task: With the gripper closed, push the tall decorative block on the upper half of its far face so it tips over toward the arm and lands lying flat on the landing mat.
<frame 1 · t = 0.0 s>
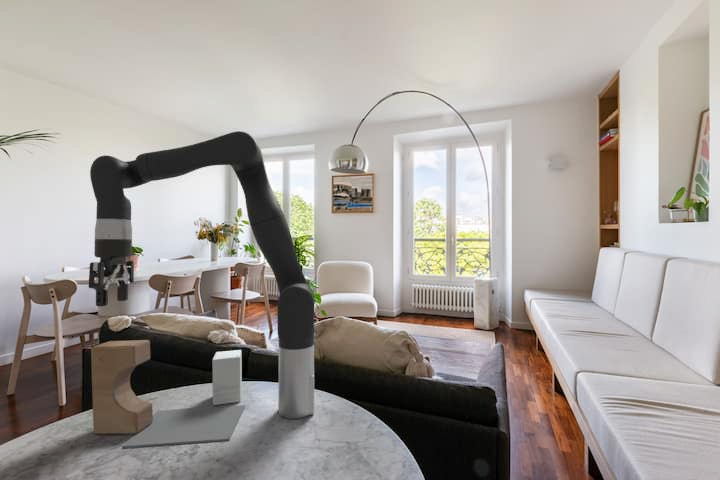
hand: (112, 303, 83), 29 cm above the table, tool pointing down, fingers open, 8 cm apart
landing mat: (190, 425, 81), on the table
supplement box: (227, 399, 95), on the table
decorative block: (124, 429, 79), on the table
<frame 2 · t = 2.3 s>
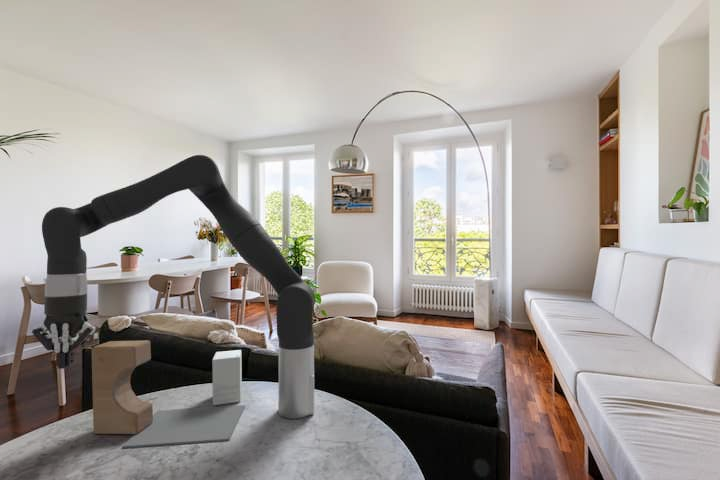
hand: (64, 367, 78), 15 cm above the table, tool pointing down, fingers closed
decorative block: (124, 429, 79), on the table, touching landing mat
everything else where it was.
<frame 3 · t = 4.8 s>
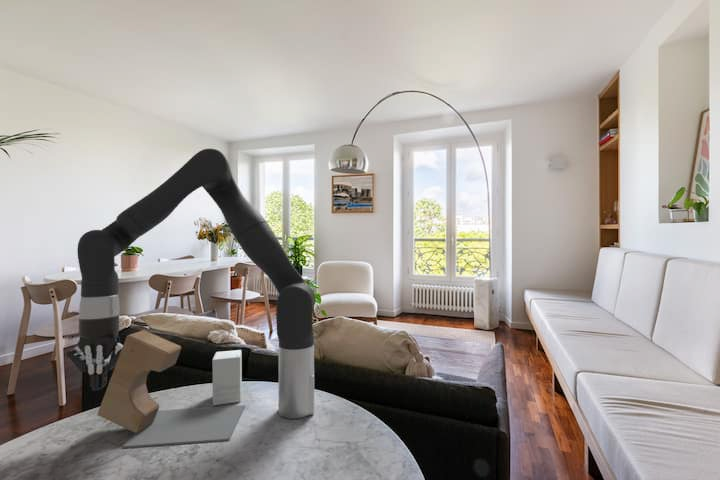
hand: (98, 388, 79), 10 cm above the table, tool pointing down, fingers closed
decorative block: (125, 420, 79), point 2 cm above the table, touching landing mat
everything else where it was.
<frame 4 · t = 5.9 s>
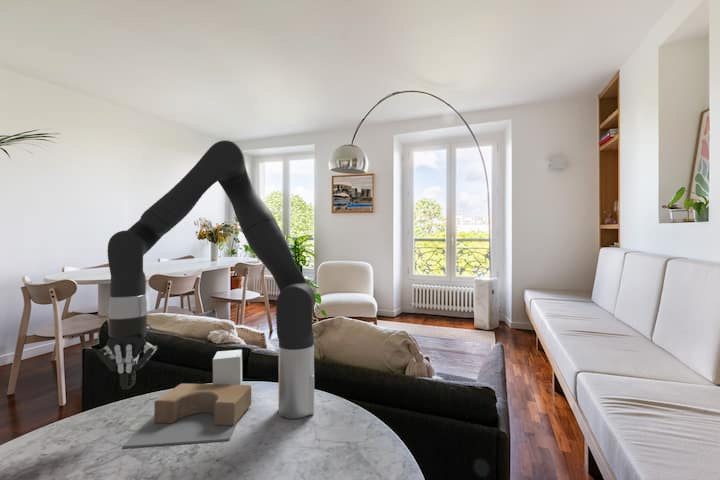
hand: (127, 387, 79), 10 cm above the table, tool pointing down, fingers closed
decorative block: (167, 402, 86), point 3 cm above the table, touching landing mat
everything else where it was.
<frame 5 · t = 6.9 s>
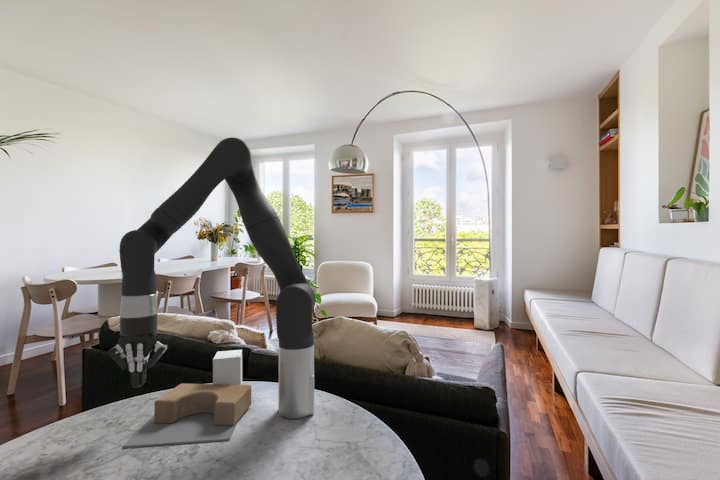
hand: (138, 386, 80), 10 cm above the table, tool pointing down, fingers closed
nothing on the table moved.
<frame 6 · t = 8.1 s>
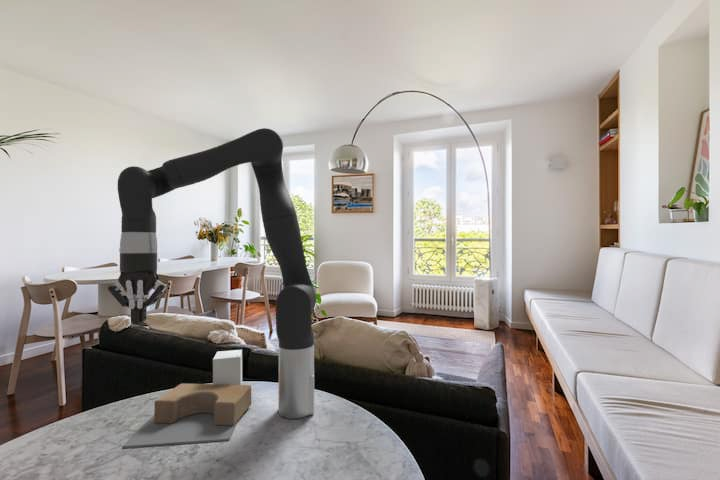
hand: (138, 323, 80), 25 cm above the table, tool pointing down, fingers closed
nothing on the table moved.
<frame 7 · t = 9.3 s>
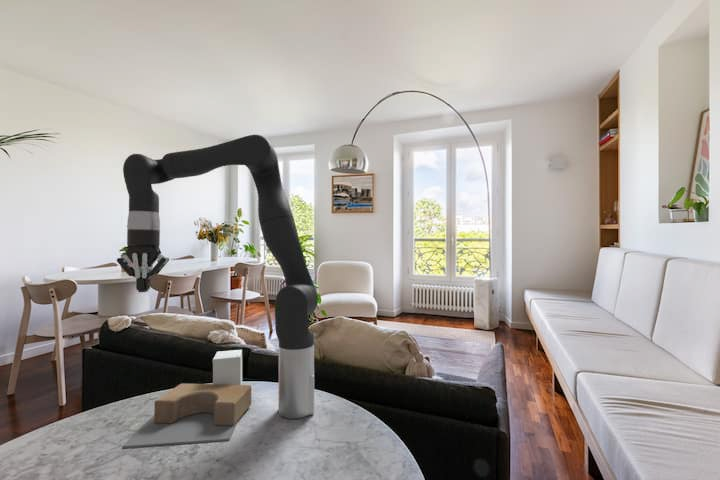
hand: (143, 291, 92), 31 cm above the table, tool pointing down, fingers closed
nothing on the table moved.
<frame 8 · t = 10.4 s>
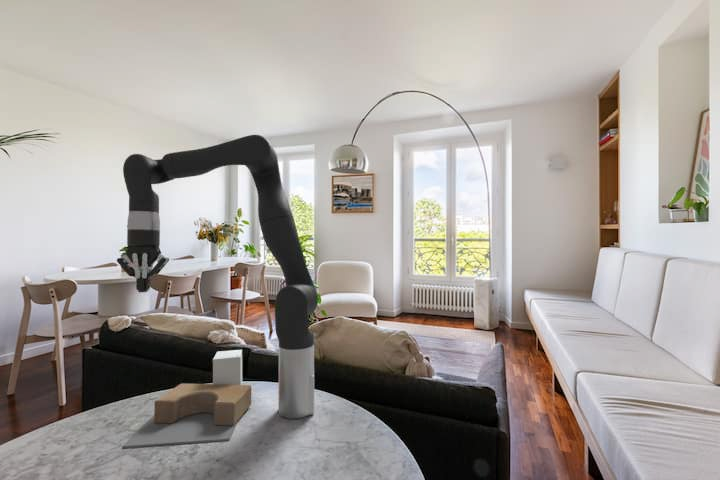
hand: (143, 291, 92), 31 cm above the table, tool pointing down, fingers closed
nothing on the table moved.
at the end: decorative block tilted 90°; decorative block touching landing mat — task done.
